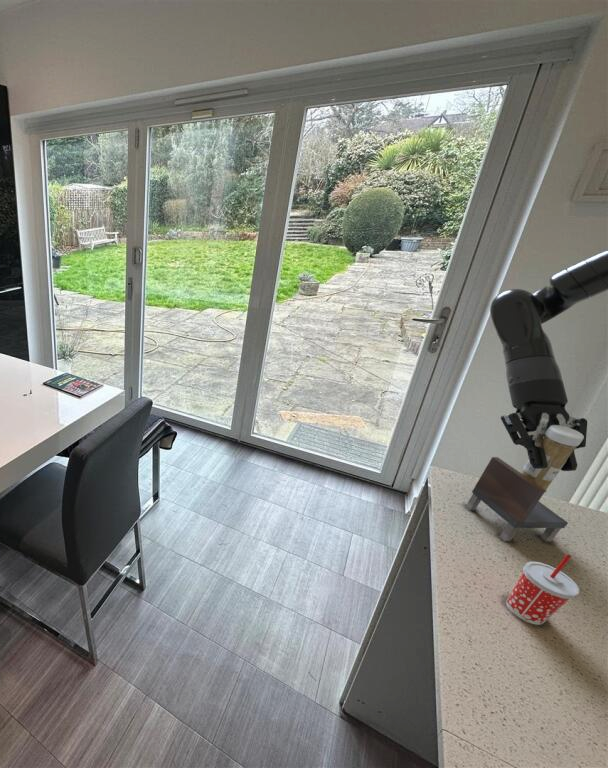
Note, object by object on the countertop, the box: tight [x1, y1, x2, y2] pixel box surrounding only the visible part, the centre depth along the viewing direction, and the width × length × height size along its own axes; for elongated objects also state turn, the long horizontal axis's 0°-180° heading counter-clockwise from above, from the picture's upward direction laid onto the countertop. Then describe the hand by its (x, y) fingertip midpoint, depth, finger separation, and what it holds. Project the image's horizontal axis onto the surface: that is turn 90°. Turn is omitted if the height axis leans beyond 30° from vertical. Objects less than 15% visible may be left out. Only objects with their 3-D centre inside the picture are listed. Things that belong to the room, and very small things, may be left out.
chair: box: [465, 456, 569, 542], centre depth 83 cm, size 10×10×14 cm
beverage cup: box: [505, 554, 580, 626], centre depth 65 cm, size 6×6×14 cm
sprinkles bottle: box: [520, 425, 584, 493], centre depth 78 cm, size 5×5×14 cm
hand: (554, 468), depth 77 cm, fingers closed on sprinkles bottle, 4 cm apart
